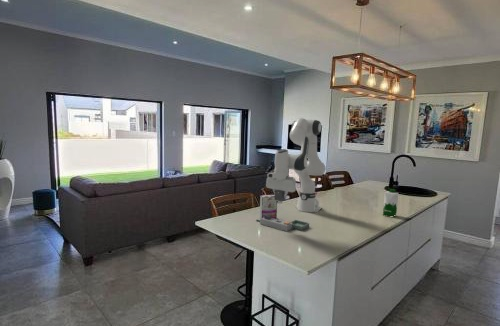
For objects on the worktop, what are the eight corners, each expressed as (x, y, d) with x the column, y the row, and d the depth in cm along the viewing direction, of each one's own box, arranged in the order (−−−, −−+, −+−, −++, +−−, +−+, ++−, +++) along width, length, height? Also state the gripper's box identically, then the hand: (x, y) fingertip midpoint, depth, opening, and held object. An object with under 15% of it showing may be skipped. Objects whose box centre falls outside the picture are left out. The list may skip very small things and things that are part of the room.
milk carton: (397, 215, 223) (399, 190, 220) (393, 218, 216) (395, 191, 214) (385, 213, 229) (387, 188, 227) (381, 215, 222) (383, 189, 220)
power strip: (253, 222, 195) (253, 214, 194) (259, 219, 200) (259, 211, 200) (286, 231, 179) (287, 222, 179) (292, 228, 185) (292, 220, 184)
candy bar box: (274, 217, 208) (275, 194, 206) (276, 219, 203) (277, 196, 201) (259, 217, 205) (260, 194, 203) (261, 220, 200) (262, 196, 198)
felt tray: (295, 223, 195) (295, 219, 195) (309, 226, 189) (309, 223, 189) (287, 227, 187) (287, 223, 187) (301, 230, 181) (301, 226, 181)
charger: (274, 203, 185) (274, 190, 184) (278, 201, 189) (279, 189, 188) (280, 204, 182) (281, 191, 181) (285, 202, 186) (285, 190, 185)
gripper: (298, 176, 179) (297, 198, 181) (270, 172, 192) (269, 193, 193) (293, 178, 174) (292, 200, 176) (265, 173, 187) (264, 195, 188)
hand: (280, 196), depth 185 cm, fingers closed on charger, 5 cm apart
